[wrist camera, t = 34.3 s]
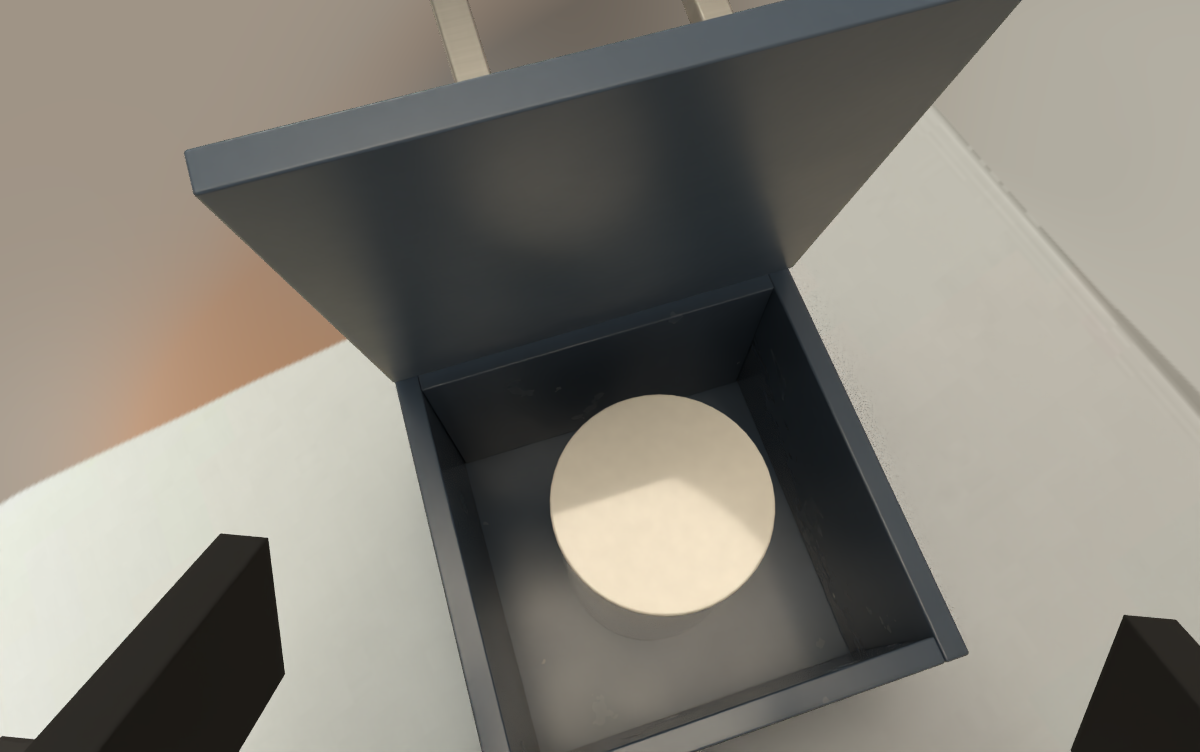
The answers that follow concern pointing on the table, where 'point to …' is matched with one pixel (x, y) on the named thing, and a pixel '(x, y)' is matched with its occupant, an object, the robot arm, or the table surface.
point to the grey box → (739, 625)
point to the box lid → (585, 171)
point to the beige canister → (660, 514)
